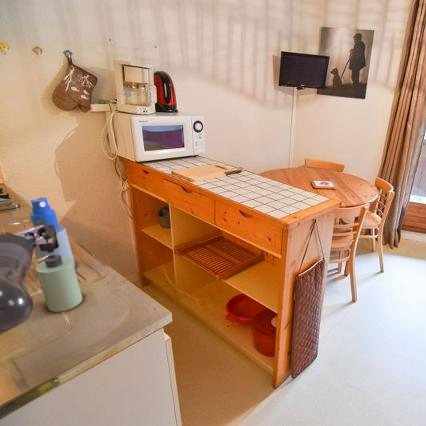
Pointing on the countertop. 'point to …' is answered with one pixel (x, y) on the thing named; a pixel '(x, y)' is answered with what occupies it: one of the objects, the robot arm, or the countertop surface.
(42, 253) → the spray bottle
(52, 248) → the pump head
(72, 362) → the countertop surface
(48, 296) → the dispenser
